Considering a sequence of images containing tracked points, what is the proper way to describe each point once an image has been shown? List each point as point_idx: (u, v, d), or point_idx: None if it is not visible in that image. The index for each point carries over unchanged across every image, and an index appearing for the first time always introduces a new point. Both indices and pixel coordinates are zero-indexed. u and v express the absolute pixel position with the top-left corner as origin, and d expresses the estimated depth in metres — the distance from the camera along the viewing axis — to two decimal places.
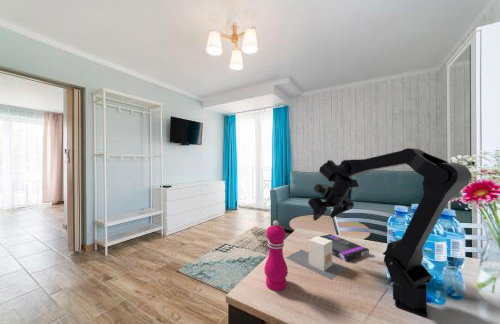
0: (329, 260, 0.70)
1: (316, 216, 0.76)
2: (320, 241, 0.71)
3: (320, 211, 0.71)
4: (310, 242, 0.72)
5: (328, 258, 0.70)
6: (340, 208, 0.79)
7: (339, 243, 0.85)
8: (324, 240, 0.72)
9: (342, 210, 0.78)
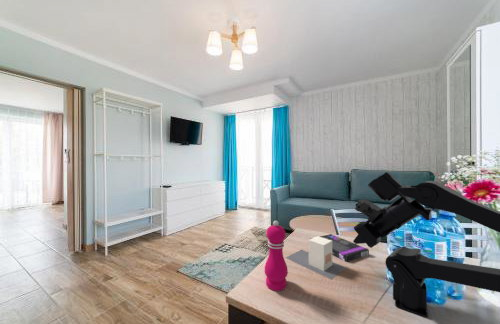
0: (329, 260, 0.70)
1: (362, 241, 0.59)
2: (320, 241, 0.71)
3: None
4: (310, 242, 0.72)
5: (328, 258, 0.70)
6: None
7: (339, 243, 0.85)
8: (324, 240, 0.72)
9: None
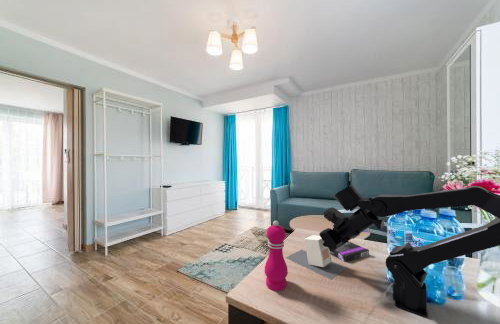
0: (327, 256, 0.71)
1: None
2: (314, 238, 0.73)
3: (335, 249, 0.59)
4: (306, 241, 0.73)
5: (326, 254, 0.70)
6: None
7: None
8: (319, 237, 0.73)
9: (342, 242, 0.66)
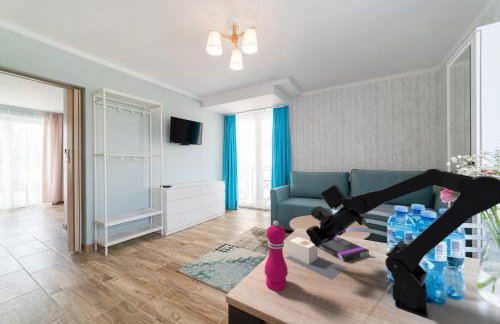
0: (308, 243, 0.77)
1: None
2: None
3: None
4: (290, 254, 0.79)
5: (305, 242, 0.77)
6: None
7: (338, 243, 0.85)
8: None
9: (328, 239, 0.70)
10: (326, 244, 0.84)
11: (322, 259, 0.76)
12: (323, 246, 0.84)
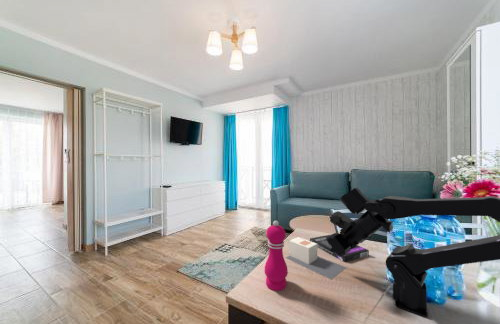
0: (308, 243, 0.77)
1: None
2: None
3: (344, 254, 0.57)
4: (290, 254, 0.79)
5: (305, 242, 0.77)
6: None
7: None
8: None
9: (349, 247, 0.64)
10: (326, 244, 0.84)
11: (322, 259, 0.76)
12: (323, 246, 0.84)
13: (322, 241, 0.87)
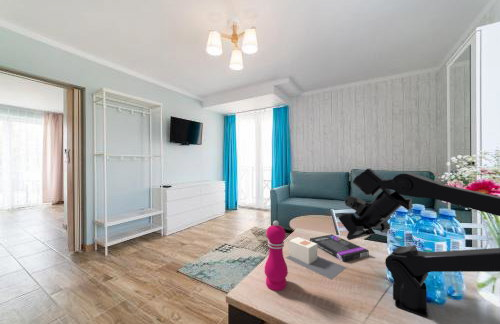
0: (308, 243, 0.77)
1: (353, 235, 0.62)
2: None
3: (356, 232, 0.55)
4: (290, 254, 0.79)
5: (305, 242, 0.77)
6: None
7: (338, 243, 0.85)
8: None
9: (367, 233, 0.61)
10: (326, 244, 0.84)
11: (322, 259, 0.76)
12: (323, 246, 0.84)
13: (322, 241, 0.87)
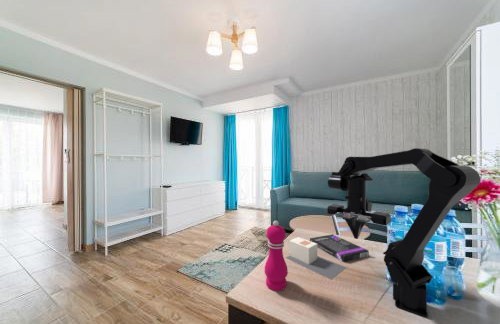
0: (308, 243, 0.77)
1: None
2: None
3: (329, 211, 0.71)
4: (290, 254, 0.79)
5: (305, 242, 0.77)
6: None
7: (338, 243, 0.85)
8: None
9: None
10: (325, 244, 0.84)
11: (322, 259, 0.76)
12: (322, 246, 0.84)
13: (322, 241, 0.87)
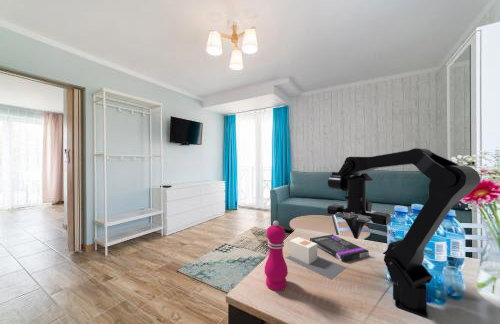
0: (308, 243, 0.77)
1: None
2: None
3: (329, 211, 0.71)
4: (290, 254, 0.79)
5: (305, 242, 0.77)
6: None
7: (338, 243, 0.85)
8: None
9: None
10: (325, 244, 0.84)
11: (322, 259, 0.76)
12: (322, 246, 0.84)
13: (322, 241, 0.87)
